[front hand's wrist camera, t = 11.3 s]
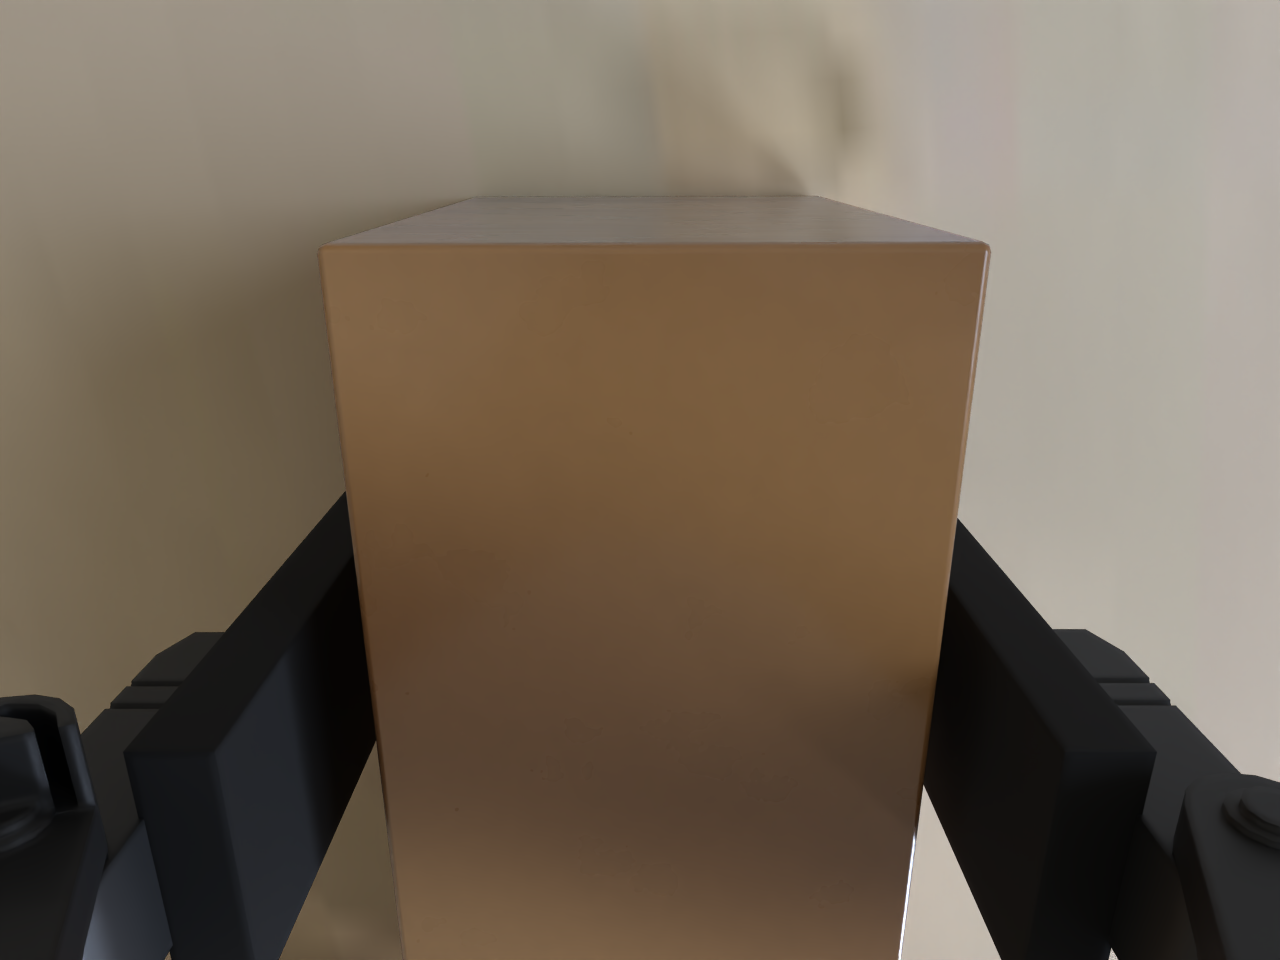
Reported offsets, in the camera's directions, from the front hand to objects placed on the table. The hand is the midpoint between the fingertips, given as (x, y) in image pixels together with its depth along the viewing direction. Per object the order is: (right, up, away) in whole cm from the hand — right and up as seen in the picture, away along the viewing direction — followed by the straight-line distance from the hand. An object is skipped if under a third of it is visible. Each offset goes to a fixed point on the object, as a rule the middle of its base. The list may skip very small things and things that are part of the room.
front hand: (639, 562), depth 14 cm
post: (0, -28, +13) cm, 30 cm away
